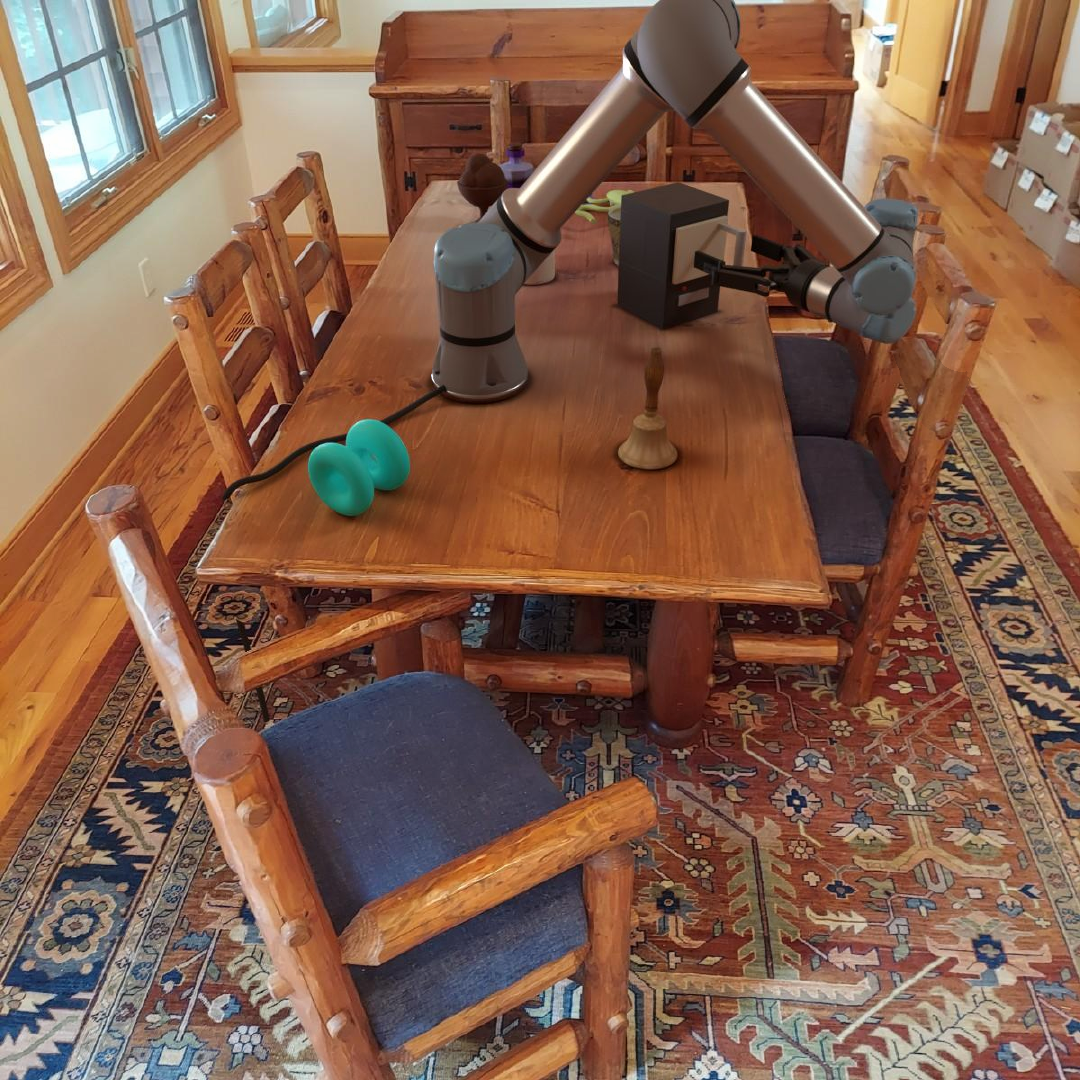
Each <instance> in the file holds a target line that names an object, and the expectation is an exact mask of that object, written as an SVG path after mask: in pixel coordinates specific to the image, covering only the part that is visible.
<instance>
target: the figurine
mask: <svg viewBox="0 0 1080 1080" xmlns="http://www.w3.org/2000/svg"><path fill="white" fill-rule="evenodd" d="M634 192H635V191H634V190H631V189H628V190H622V189H611V190H609V191H608V192H607V193H606V197H605V198H598V199H596V198H595V196H594V195H593V193H594V192H593V193H592V194H591V195H590V196H589V197H588V198H587V200H586V201H585V202H584V203H583V204H582V205H581V206H580V207H579V208H578V209H577V211H576V212H575V213H574V214H575V215H576V216H578V217H580V218H585V219H587V220H588V221H589V222H590V224H591V225H596V223H597V220H596V218H595V217H594V215H592V213H590V212H588V211H596V212H598V213H605V214H608V212H609V211H610V210H611V209H613V208H615V207H619V206H621V196H622V195H625V194H629V193H634ZM606 204H609V205H610V206H600V205H606Z"/></svg>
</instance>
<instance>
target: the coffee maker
mask: <svg viewBox="0 0 1080 1080" xmlns="http://www.w3.org/2000/svg"><path fill="white" fill-rule="evenodd" d="M729 206H730V199H728V198H724V197H722V196H719V195H716V194H713V193H710V192H708V191H705V190H702V189H699V188H697V187H695V186H691V185H688V184H685V183H683V182H680V181H676V182H673V183H669V184H664V185H660V186H656V187H652V188H646V189H642V190H638V191H634V193H629V194H625V195H622V196H621V218H620V243H619V266H618V270H617V271H618V272H617V299H616V306H617V307H619V308H621V309H623V310H625V311H627V312H629V313H631V314H633V315H635V316H637V317H639V318H640V319H643V320H644V321H646V322H648V323H650V324H652V325H654V326H655V327H658V328H660V329H662V330H665V329H668V328H672V327H674V326H678V325H680V324H683V323H686V322H690V321H693V320H696V319H699V318H703V317H706V316H708V315H712V314H715V313H718V311H719V302H720V293H721V287H720V286H715V285H712V275H710V274H709V275H706V276H702V277H699V278H695V279H692V280H689V281H685V282H682V283H678V284H673V283H672V276H673V263H674V249H675V236H676V228H679V227H683V226H687V225H690V224H694V223H698V222H702V221H706V220H710V219H713V218H717V217H721V216H728V217H729Z"/></svg>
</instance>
